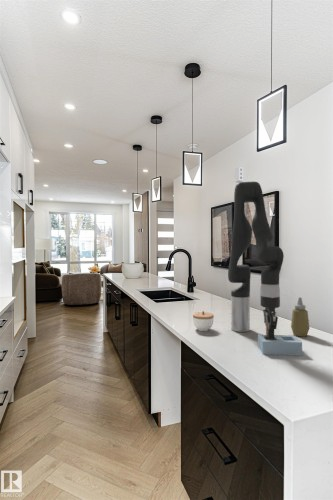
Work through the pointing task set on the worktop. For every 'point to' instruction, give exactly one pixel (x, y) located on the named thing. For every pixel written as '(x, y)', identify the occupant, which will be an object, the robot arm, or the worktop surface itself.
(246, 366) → the worktop surface
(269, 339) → the dowel
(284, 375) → the worktop surface
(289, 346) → the socket block
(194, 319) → the lidded jar
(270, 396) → the worktop surface
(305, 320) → the squeeze bottle
